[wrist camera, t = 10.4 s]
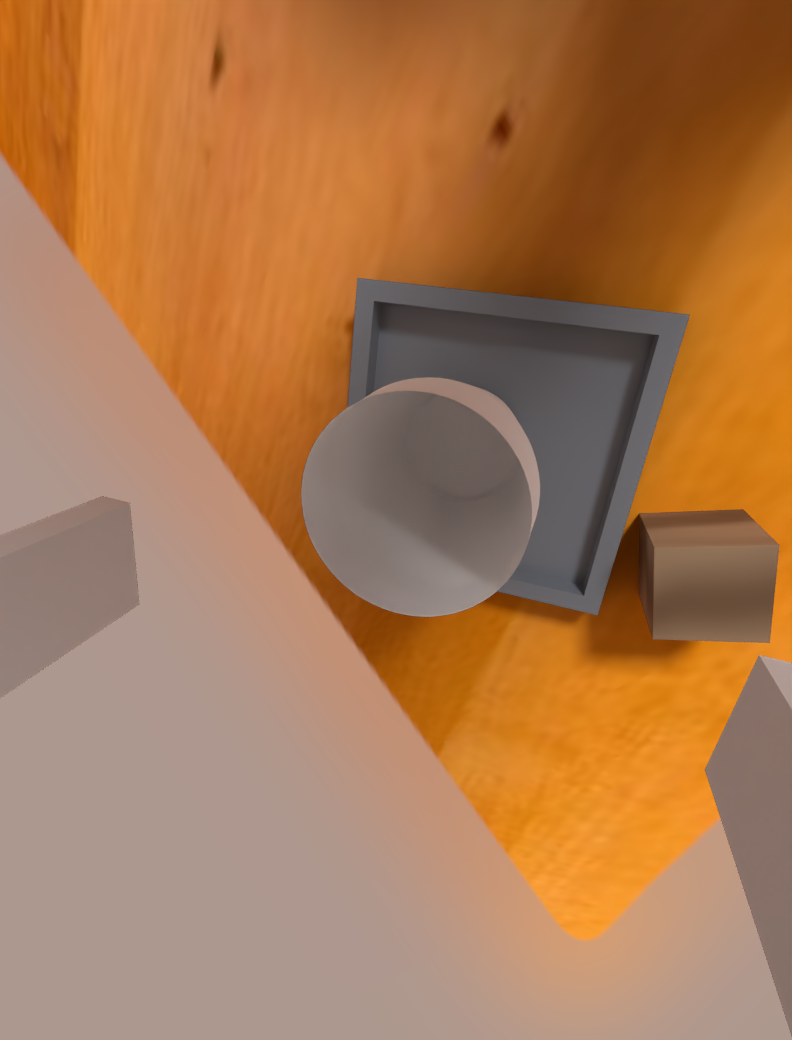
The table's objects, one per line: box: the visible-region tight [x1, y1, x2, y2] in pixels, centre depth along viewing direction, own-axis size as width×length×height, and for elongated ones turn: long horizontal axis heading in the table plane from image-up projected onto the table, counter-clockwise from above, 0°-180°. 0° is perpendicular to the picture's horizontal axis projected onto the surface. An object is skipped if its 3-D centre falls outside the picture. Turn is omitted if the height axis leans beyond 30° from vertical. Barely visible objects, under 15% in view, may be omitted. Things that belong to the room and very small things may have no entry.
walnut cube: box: [639, 509, 779, 643], centre depth 27 cm, size 5×5×5 cm
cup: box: [301, 377, 540, 617], centre depth 24 cm, size 9×9×12 cm
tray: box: [348, 278, 690, 615], centre depth 29 cm, size 16×16×2 cm
